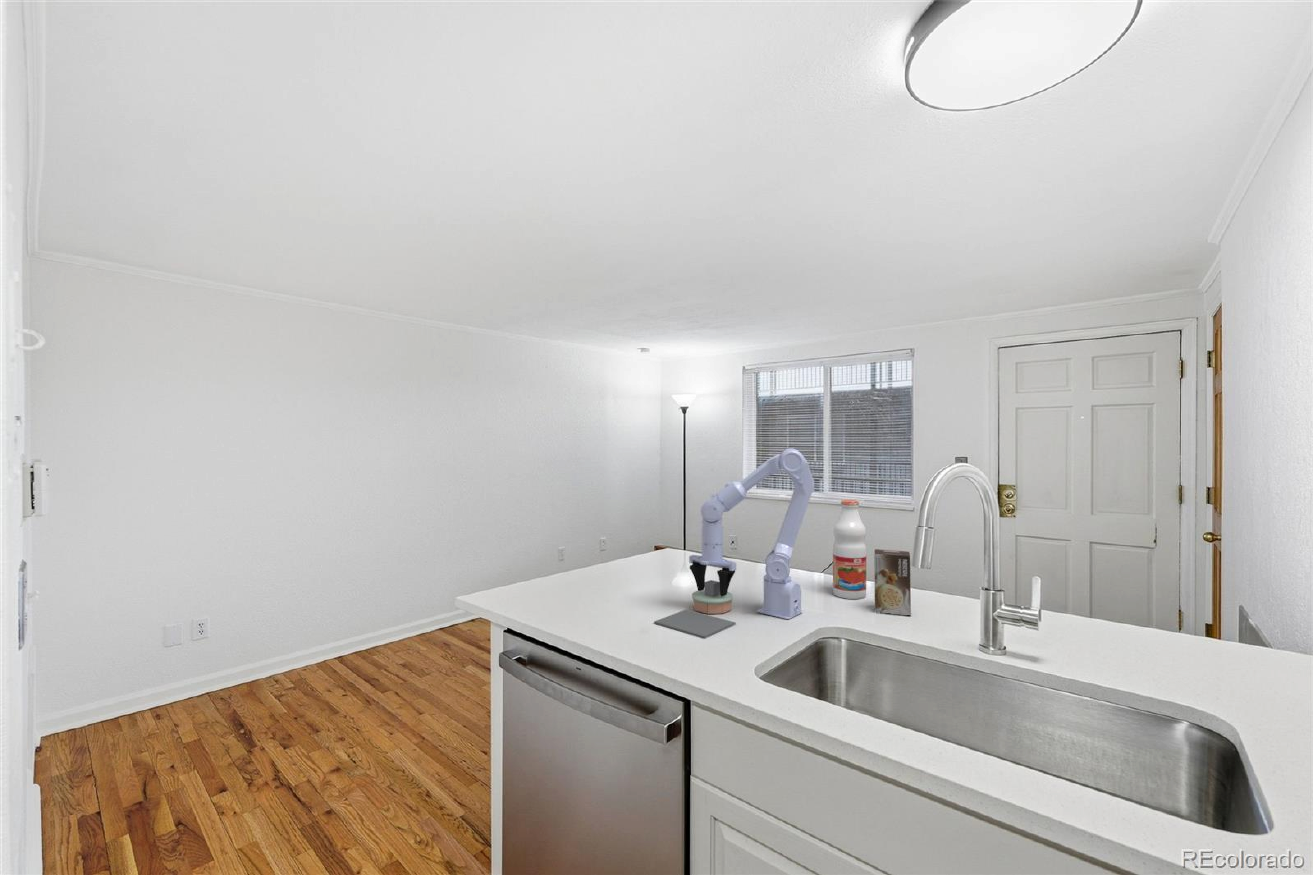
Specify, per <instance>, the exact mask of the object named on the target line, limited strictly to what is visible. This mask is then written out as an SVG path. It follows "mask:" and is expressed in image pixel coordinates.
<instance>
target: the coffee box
mask: <svg viewBox="0 0 1313 875" xmlns="http://www.w3.org/2000/svg"><path fill="white" fill-rule="evenodd" d="M873 557H874V561H873V562H874V565H873V566H874V613H875V612H882V613H881V614H884V613H891V614H890V615H893V614H903V615H911V616H912V604H911V601H912V600H911V599H912V598H911V597H912V596H911V594H912V591H911V589H912V588H911V584H912V583H911V579H912V578H911V553H910V551H905V550H893V549H890V550H889V549H878V548H877V549H874V556H873ZM903 615H902V616H903Z"/></svg>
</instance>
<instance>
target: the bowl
mask: <svg viewBox="0 0 1313 875" xmlns="http://www.w3.org/2000/svg"><path fill="white" fill-rule="evenodd" d="M732 601H733V599H732V600H731V601H729V602H726V603H721V604H707V603H701V602H697V601H695V600H693V599H692V607H693V609H694V611H695V612H698V613H701V614H705V615H720V614H724V613H727V612H730V611H731V610H732V609H733V608H732V607H733V605H732V604H733V602H732Z"/></svg>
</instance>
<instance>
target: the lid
mask: <svg viewBox="0 0 1313 875" xmlns="http://www.w3.org/2000/svg"><path fill="white" fill-rule="evenodd" d="M691 598H692V601H693V600H695V601H697V602H701V603H707V604H721V603H726V602H729V601H731V600H732V601H733V594H732V593H731V592H729V591H727V595H725V596H720V582H719V581H717V580H708V581H705V587H704V590H701V591H698V590H695V591H693V593H692V595H691Z"/></svg>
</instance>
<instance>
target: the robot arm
mask: <svg viewBox="0 0 1313 875" xmlns="http://www.w3.org/2000/svg"><path fill="white" fill-rule="evenodd" d="M782 471H784V473H785V474H787V475H788V476H789V477H790V479H791V481H792V483H793V485H794V488H793V492H792V495H791V497H790V501H789V504H788V506H787V509H786V512H785V514H784V518H783V521H782V524H781V527H780V529H779V532H778V535H777V538H776V541H775V543H774V545H773V548H772V550H771V551H770V552H769V553H768V554H767V556H766V558H765V575H764V576H763V607H761V608H759V609H757V610H756V611H757V613H760V614H764V615H768V616H773V617H776V618H781V619H785V620H789V619H793V618H794V617H796V616H798V615H801V614H802V613H803V610H802V588H801V585H800V584H799V583H798V582H795V581H793V580H792V577H791V575H790V572H791V567H790V561H791V559H792V554H793V550H794V546H795V544H796V540H797V537H798V534H799V531H800V529H801V525H802V524H803V523H802V522H803V520H804V517H805V514H806V511H807V510H808V509H807V508H808V505H809V503H810V500H811V496H812V494H813V491H814V487H815V483H814V478H813V476H812V471H811V469H810V465H809V462H808V461H807V459H806V457H804V455H803V453H801V452H800V451H799V450H797V449H796V448H790V447H789V448H787V449H784V450H783V451H781V453H780V454H779V453H778V454H775V455H773V456H772V457H770V458H769V459H768V460H766V461H764V462H763V463H762V464H761V465H760V466H758V467H757V468H756V469H755V470H753V471H752V472H751V473H750V474H748V475H747V476H746V477H745V478H744V479H742V480H741V481H731V482H728V481H727V482H726V483H725V484H724V487H723V488H722V489H721V490H720V491H718V492H717V493H712V494H711V495H710V497H711V498H709V499H707V500H705V502H704V503H703V504H702V506H701V507H700V514H701V517H702V519H701V525H702V526H701V555H696V554H691V555H689V557H688V562H689V563H690V565H689V569H690V571H691V573H692V575H693V577H694V581H695V583H696V588H697V591H701V590H705V582H706V572H707V567H713V568H718V569H719V570H717V572H716V573H717V576H718V582H720V596H725V595H727V592H729V591H728V590H729V588H730V587H729V586H730V584H731V581H732V578H733V576H734V575H735V574H736V571H737V562H735V561H731V560H728V559H725V558H723V556H724V555H723V553H724V552H723V551H724V550H723V549H724V547H723V546H724V545H723V544H724V542H723V536H724V535H723V534H724V533H723V532H724V527H723V524H722V522H723V521H722V520H723V518H722V516H723V514H724V513H725V512H729V511H731V510H732V509H734V508H735V507H736V506H738V504H739V505H740V504H741V502H743V501H744V500H745V499H746V498H747V493H748V491H749V490H750V489H751V490H752V489H753V488H754V487H755V486H757V485H758V484H759V483H761V482H762V481H763V480H765V479H766V478H768V477H769V476H771V475H779V474H782Z"/></svg>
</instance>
